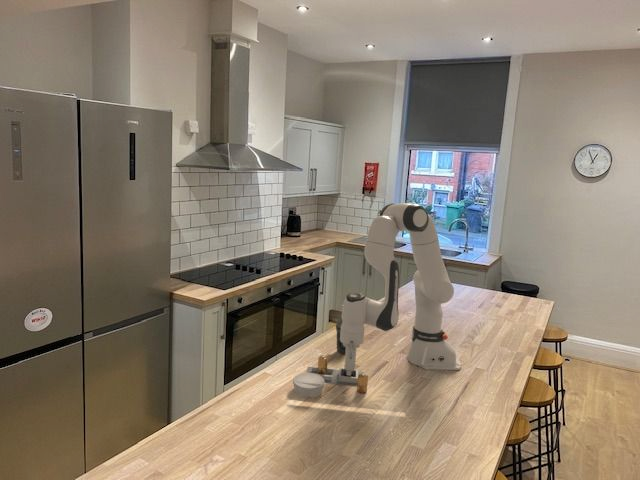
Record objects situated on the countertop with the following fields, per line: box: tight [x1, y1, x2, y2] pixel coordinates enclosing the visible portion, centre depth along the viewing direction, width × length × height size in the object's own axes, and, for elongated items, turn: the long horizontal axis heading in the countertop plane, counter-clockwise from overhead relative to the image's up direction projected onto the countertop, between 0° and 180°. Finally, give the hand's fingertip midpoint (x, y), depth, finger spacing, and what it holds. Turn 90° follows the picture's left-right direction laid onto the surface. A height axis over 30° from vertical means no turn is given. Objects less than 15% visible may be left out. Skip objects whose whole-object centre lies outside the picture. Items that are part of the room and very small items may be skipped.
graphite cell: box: [343, 365, 354, 377], centre depth 177 cm, size 4×4×8 cm
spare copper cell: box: [317, 355, 329, 375], centre depth 178 cm, size 4×4×8 cm
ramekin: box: [292, 372, 325, 398], centre depth 166 cm, size 11×11×5 cm
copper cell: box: [356, 373, 369, 395], centre depth 168 cm, size 4×4×8 cm
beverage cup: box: [335, 317, 346, 355], centre depth 202 cm, size 7×7×20 cm
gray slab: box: [305, 365, 365, 388], centre depth 178 cm, size 22×12×3 cm, turn 86°
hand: (348, 371), depth 177 cm, fingers open, 4 cm apart
